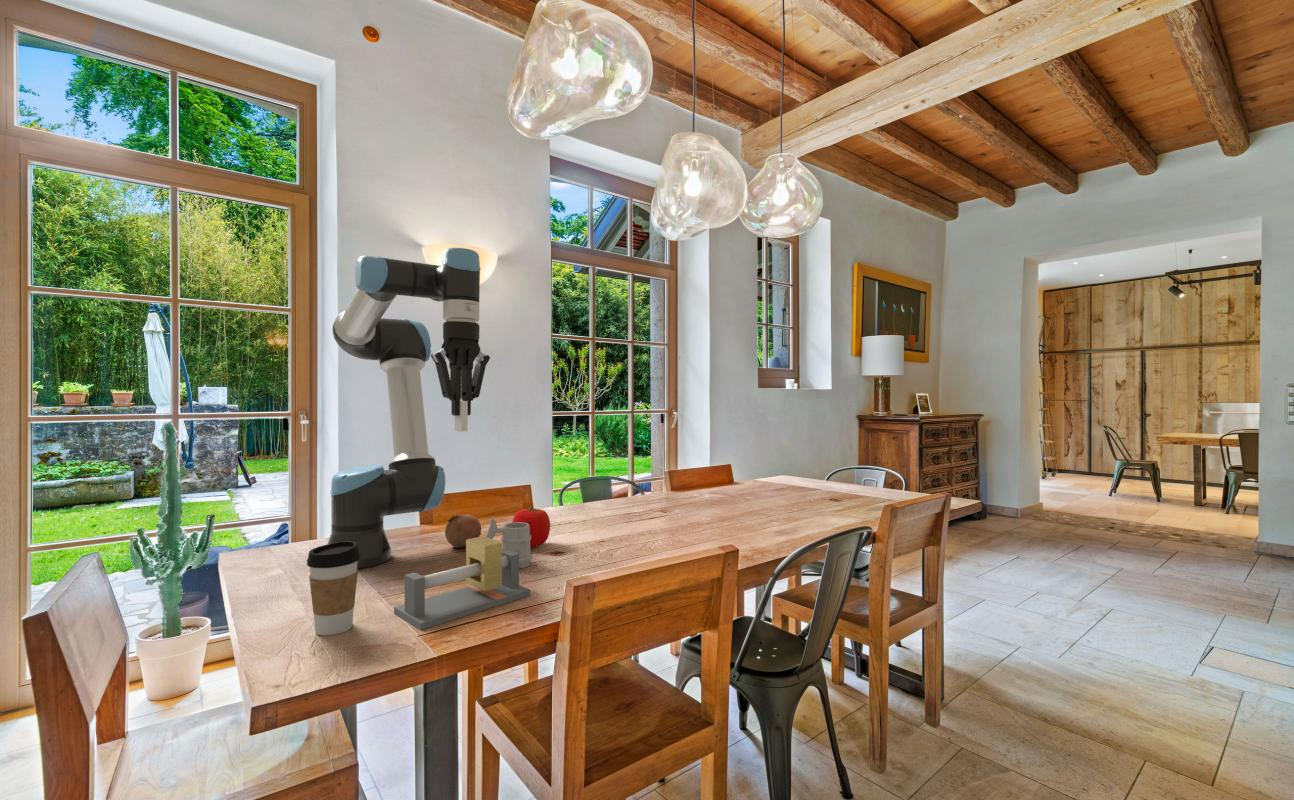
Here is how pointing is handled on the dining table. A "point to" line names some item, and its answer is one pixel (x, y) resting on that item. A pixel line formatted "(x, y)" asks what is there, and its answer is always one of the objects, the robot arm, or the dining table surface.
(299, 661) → the dining table surface
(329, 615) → the coffee cup
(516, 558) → the rail
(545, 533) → the red round fruit
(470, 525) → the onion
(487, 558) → the collar
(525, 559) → the mug
